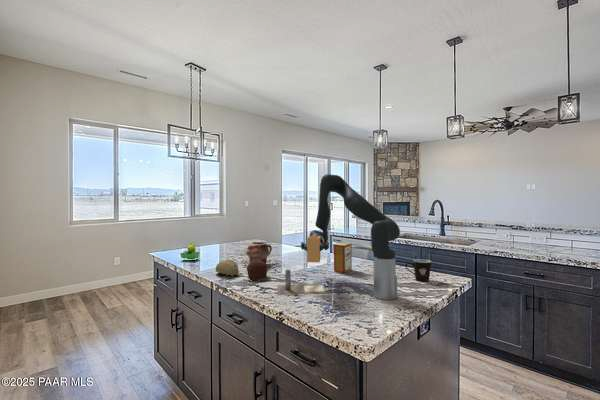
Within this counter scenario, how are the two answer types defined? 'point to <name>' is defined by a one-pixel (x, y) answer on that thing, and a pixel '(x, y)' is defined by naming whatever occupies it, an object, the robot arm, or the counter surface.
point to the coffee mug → (421, 269)
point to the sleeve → (313, 249)
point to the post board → (299, 287)
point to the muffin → (257, 270)
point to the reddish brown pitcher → (258, 251)
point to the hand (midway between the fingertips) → (313, 248)
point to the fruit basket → (190, 252)
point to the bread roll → (227, 267)
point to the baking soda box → (342, 257)
